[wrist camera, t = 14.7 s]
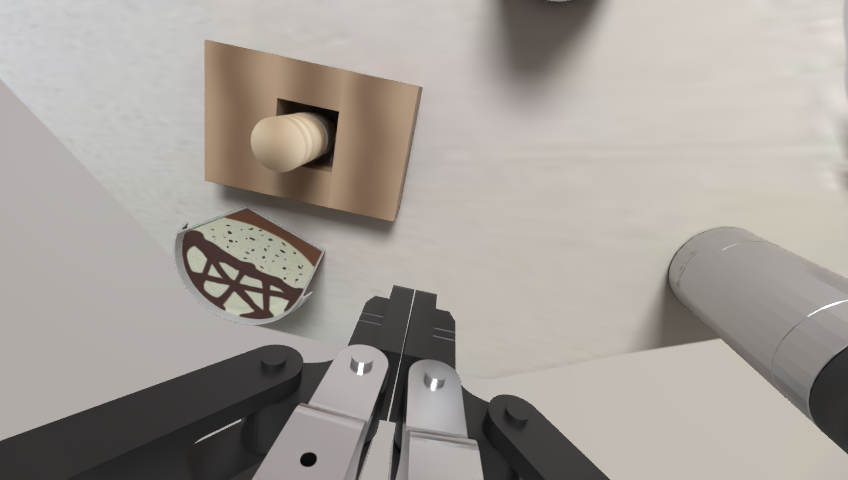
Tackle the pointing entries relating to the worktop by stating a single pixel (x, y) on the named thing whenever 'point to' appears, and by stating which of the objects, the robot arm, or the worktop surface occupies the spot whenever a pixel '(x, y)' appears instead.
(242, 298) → the food container
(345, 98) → the board
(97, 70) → the worktop surface
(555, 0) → the ink bottle
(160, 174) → the worktop surface
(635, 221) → the worktop surface
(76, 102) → the worktop surface
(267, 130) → the peg
